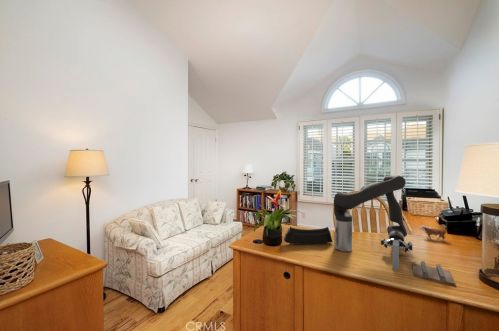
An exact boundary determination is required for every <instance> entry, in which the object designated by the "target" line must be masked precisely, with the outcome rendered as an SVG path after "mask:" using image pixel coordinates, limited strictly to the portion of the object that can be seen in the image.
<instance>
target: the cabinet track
mask: <svg viewBox="0 0 499 331" xmlns="http://www.w3.org/2000/svg"><path fill="white" fill-rule="evenodd" d="M435 265H436V266H435V267H434V266H428V265H427V263H426V261H425V260H420V263H416V262H415V263H414V262H412V272H413V277H414V278H420V279H424V280H428V281H432V282H436V283H441V284H444V285H449V286H453V287H456V285H457V284H456V281H455V279H454V277H453V274H452V272H451V271H450V270H448V269H443V267H442V265H441V264H439V263H436V264H435Z"/></svg>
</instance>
